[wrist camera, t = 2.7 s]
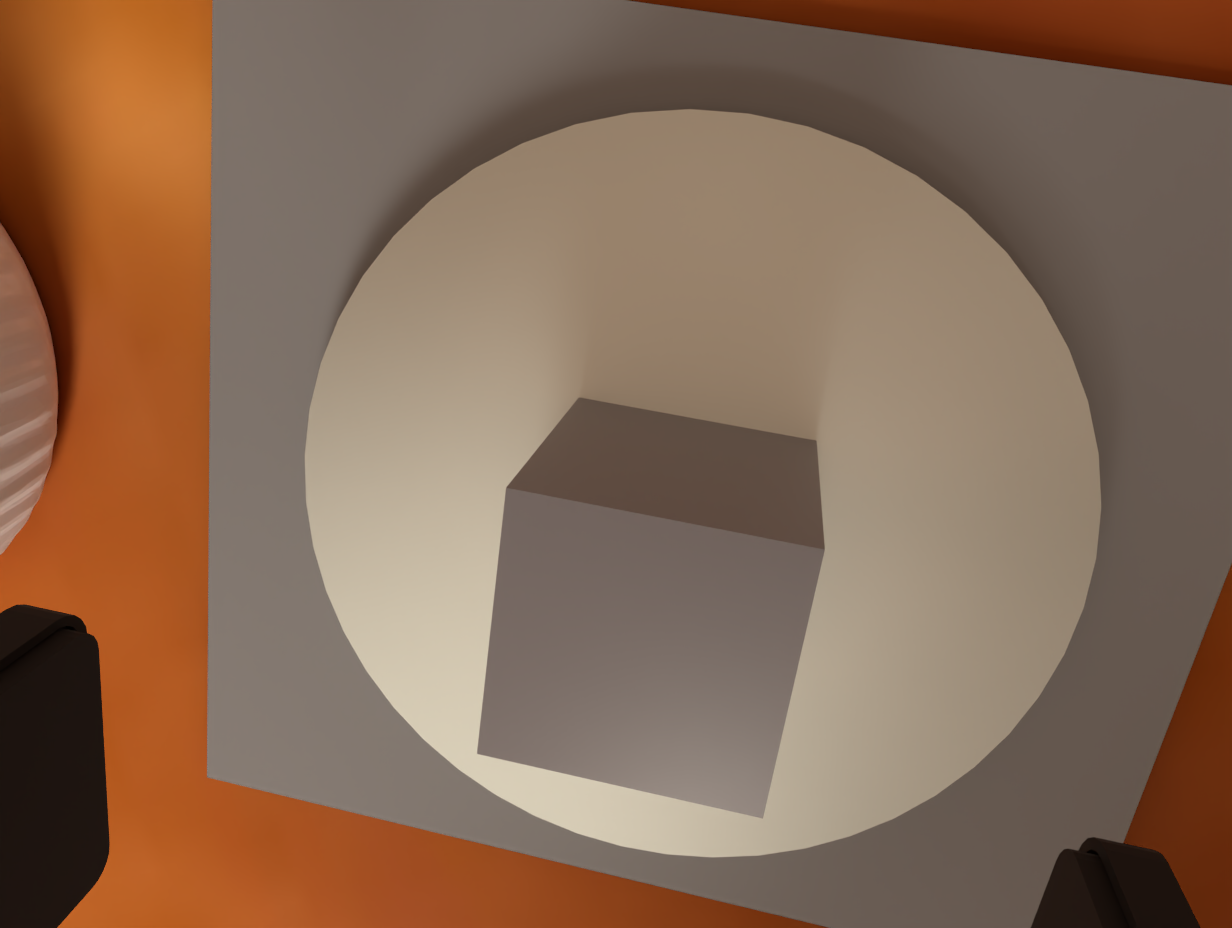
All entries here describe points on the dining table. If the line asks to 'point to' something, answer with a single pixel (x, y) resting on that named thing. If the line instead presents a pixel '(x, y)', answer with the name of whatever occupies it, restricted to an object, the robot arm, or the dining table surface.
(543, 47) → the mat
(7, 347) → the ramekin
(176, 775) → the dining table surface
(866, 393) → the lid
